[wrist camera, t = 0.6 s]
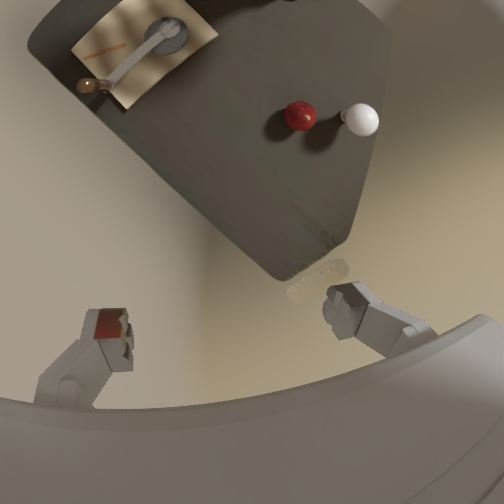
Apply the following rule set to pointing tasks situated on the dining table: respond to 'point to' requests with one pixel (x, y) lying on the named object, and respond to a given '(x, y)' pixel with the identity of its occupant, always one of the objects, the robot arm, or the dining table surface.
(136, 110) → the dining table surface
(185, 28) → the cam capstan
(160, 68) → the stand
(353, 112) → the lightbulb
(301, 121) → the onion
